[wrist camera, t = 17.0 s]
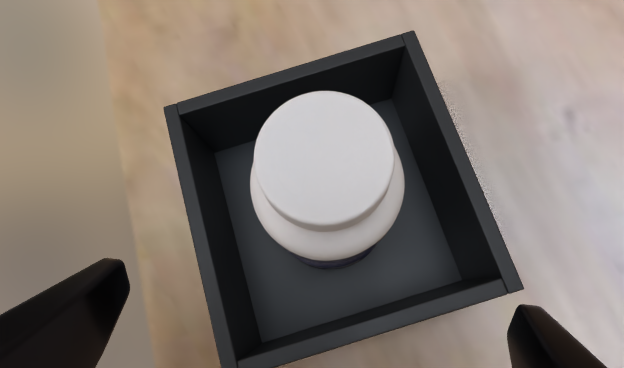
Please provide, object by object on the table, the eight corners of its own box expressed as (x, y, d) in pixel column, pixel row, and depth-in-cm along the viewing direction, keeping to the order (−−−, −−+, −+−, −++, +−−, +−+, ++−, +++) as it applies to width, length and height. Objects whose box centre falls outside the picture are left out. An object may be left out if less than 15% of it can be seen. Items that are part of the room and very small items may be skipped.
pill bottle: (389, 267, 20) (433, 249, 10) (279, 272, 20) (225, 258, 11) (379, 162, 21) (411, 60, 12) (277, 167, 22) (228, 74, 12)
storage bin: (255, 357, 20) (224, 383, 14) (204, 150, 23) (162, 106, 17) (474, 288, 20) (524, 288, 15) (396, 90, 23) (414, 29, 17)
